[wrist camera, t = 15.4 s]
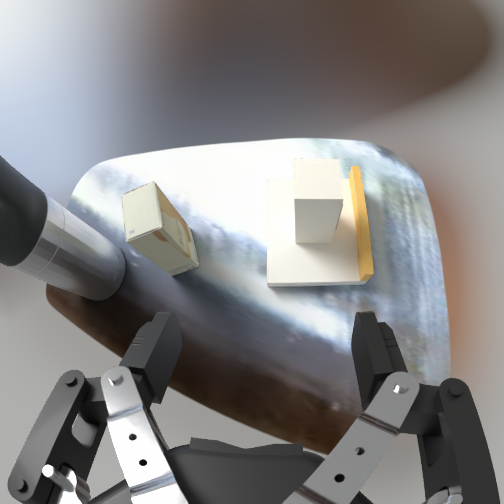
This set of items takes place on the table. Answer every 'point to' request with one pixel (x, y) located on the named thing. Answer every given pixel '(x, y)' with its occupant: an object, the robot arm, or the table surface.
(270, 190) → the shelf board
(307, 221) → the product carton
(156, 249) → the skincare box
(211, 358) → the table surface
